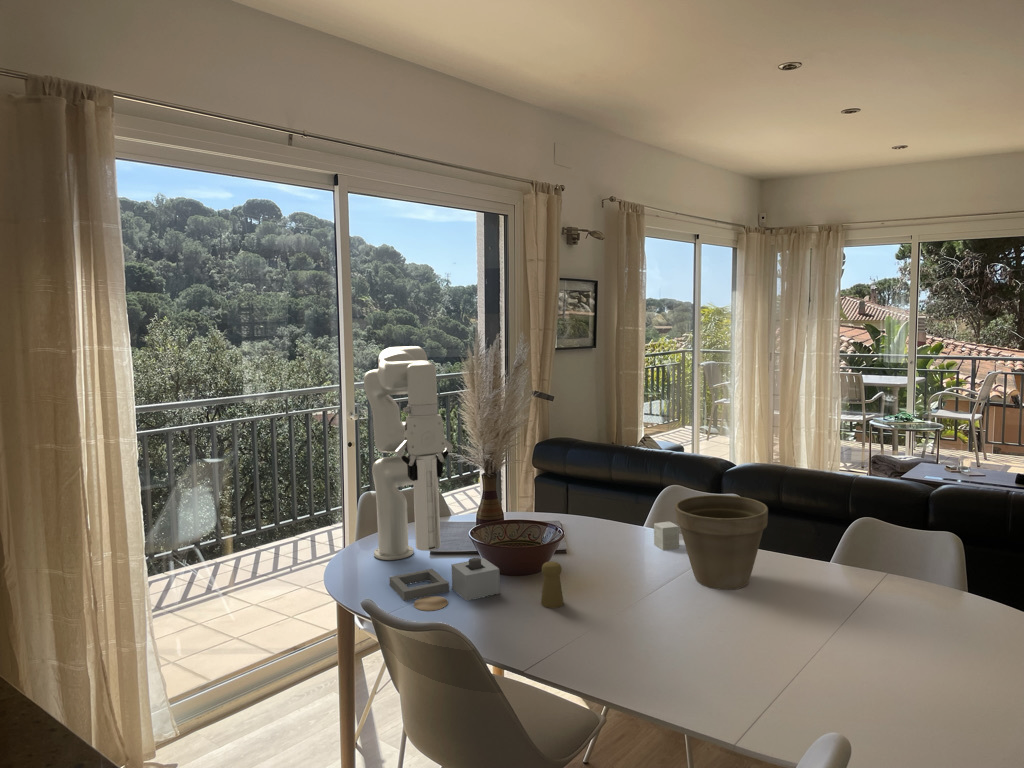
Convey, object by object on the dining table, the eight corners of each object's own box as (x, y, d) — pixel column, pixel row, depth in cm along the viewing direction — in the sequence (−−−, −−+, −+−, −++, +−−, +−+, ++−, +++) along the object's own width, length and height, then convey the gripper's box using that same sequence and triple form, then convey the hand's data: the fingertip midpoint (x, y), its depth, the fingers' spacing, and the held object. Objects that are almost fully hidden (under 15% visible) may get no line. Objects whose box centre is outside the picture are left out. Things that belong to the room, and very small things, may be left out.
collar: (389, 585, 208) (389, 576, 208) (432, 576, 214) (432, 568, 213) (404, 600, 196) (404, 591, 196) (449, 591, 202) (448, 582, 202)
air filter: (442, 543, 196) (439, 451, 193) (437, 550, 189) (434, 455, 187) (418, 543, 196) (415, 451, 194) (413, 550, 190) (409, 456, 188)
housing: (452, 588, 204) (451, 564, 203) (484, 581, 209) (483, 558, 208) (466, 600, 195) (465, 575, 195) (499, 593, 200) (499, 568, 199)
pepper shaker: (566, 600, 194) (565, 560, 193) (560, 609, 189) (559, 567, 187) (544, 597, 196) (543, 558, 195) (537, 606, 190) (537, 565, 189)
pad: (409, 601, 196) (409, 600, 196) (440, 594, 200) (440, 593, 200) (420, 613, 188) (420, 612, 188) (453, 606, 192) (453, 605, 192)
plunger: (467, 573, 202) (466, 559, 202) (478, 570, 204) (477, 557, 203) (472, 577, 199) (471, 562, 199) (483, 574, 201) (483, 560, 200)
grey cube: (653, 544, 238) (653, 523, 237) (670, 542, 240) (670, 521, 239) (662, 550, 232) (662, 528, 231) (679, 548, 234) (679, 526, 233)
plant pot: (667, 590, 199) (667, 513, 197) (682, 561, 222) (682, 491, 219) (764, 602, 190) (765, 521, 187) (769, 570, 212) (770, 497, 210)
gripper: (395, 414, 182) (398, 485, 184) (459, 409, 190) (461, 476, 192) (386, 411, 189) (389, 479, 191) (448, 406, 197) (450, 471, 198)
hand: (425, 477), depth 191 cm, fingers closed on air filter, 6 cm apart
